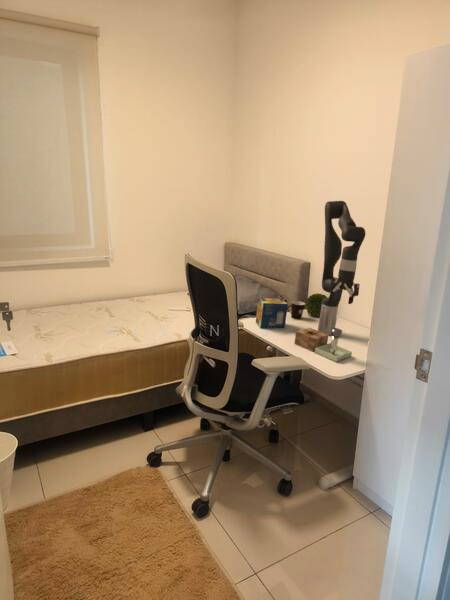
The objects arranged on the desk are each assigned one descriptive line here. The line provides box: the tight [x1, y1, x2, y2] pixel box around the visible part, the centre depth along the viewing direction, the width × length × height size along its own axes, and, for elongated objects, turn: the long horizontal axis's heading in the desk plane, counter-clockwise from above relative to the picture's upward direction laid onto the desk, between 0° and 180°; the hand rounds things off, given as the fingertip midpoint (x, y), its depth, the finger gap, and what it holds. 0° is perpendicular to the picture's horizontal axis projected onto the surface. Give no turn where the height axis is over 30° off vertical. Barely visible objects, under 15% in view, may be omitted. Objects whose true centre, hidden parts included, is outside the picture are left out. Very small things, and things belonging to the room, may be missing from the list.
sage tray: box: [314, 342, 353, 363], centre depth 196 cm, size 13×13×3 cm
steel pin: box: [329, 327, 343, 355], centre depth 193 cm, size 5×5×13 cm
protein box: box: [255, 297, 289, 329], centre depth 230 cm, size 10×15×16 cm
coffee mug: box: [287, 300, 306, 320], centre depth 250 cm, size 12×9×10 cm
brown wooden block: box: [294, 327, 329, 353], centre depth 205 cm, size 12×12×7 cm
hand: (342, 301), depth 189 cm, fingers open, 8 cm apart
